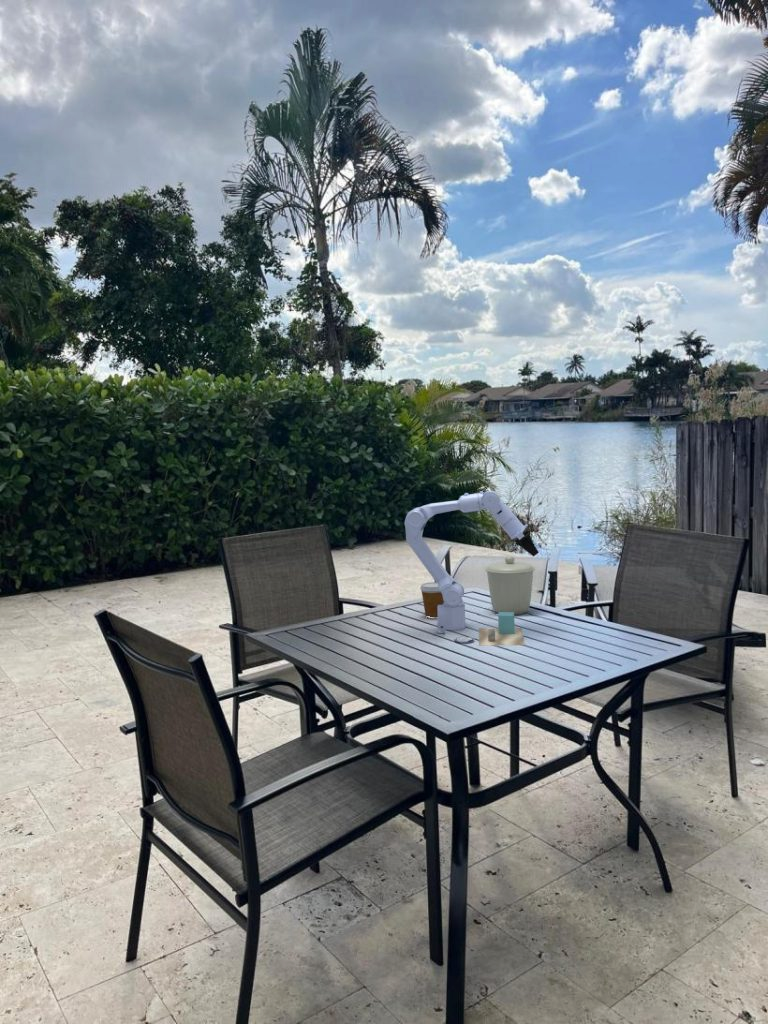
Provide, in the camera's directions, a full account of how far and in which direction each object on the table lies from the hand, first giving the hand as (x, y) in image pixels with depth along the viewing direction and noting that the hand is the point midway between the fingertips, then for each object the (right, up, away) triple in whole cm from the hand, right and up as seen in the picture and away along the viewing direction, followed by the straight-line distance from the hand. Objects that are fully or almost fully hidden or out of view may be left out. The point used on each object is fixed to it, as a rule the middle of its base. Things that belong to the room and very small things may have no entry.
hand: (535, 553), depth 238 cm
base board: (-12, -27, -5) cm, 30 cm away
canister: (-3, -24, +30) cm, 39 cm away
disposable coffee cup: (-31, -25, +28) cm, 49 cm away
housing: (-10, -26, -1) cm, 27 cm away
